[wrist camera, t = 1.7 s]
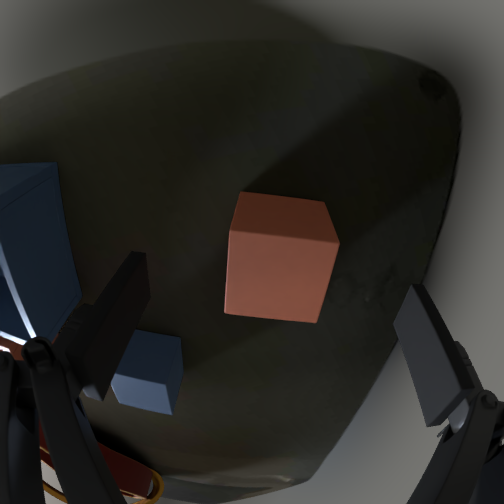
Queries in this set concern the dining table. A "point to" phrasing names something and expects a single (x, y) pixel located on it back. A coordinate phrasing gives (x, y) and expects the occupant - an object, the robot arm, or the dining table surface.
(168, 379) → the slate block
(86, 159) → the dining table surface
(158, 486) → the decorative basket
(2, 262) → the slate bin
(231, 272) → the terracotta block
